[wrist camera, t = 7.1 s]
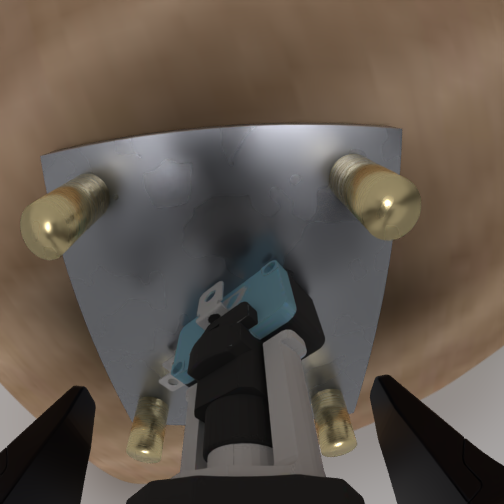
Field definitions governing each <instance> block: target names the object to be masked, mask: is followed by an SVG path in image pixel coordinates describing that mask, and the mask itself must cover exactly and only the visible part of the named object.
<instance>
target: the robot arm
mask: <svg viewBox="0 0 504 504" xmlns="http://www.w3.org/2000/svg"><path fill="white" fill-rule="evenodd" d="M370 400H371V405H372V410H373V415H374V420H375V426H376V431H377V436H378V440H379V444H380V447H381V450H382V454H383V457H384V460H385V463H386V466H387V469H388V473H389V477H390V480H391V483H392V487H393V490H394V493H395V497H396V501H397V504H504V466H503V465H502V464H500V463H498V462H497V461H495V460H494V459H492V458H490V457H489V456H488V455H486V454H485V453H483V452H482V451H481V450H479V449H478V448H477V447H476V446H474V445H473V444H472V443H471V442H469V441H468V440H467V439H464V437H463V436H462V435H461V434H460V433H458V432H457V431H456V430H455V429H454V428H452V427H451V426H450V425H448V423H446V422H445V421H444V420H443V419H442V418H440V417H439V416H438V415H437V414H436V413H434V412H433V411H432V410H431V409H430V408H428V407H427V406H426V405H425V404H424V403H422V402H421V401H420V400H419V399H418V398H416V397H415V396H414V395H413V394H412V393H410V392H409V391H408V390H407V389H406V388H404V387H403V386H402V385H401V384H400V383H398V382H397V381H396V380H395V379H394V378H392V377H391V376H390V375H382V376H377V377H376V378H375V380H374V383H373V386H372V390H371V393H370ZM95 409H96V407H95V402H94V400H93V398H92V397H91V395H90V393H89V392H88V390H87V388H86V387H84V386H73V387H72V388H71V389H69V390H68V391H67V392H66V393H65V394H64V395H63V396H62V397H61V398H59V399H58V400H57V401H56V402H55V403H54V404H53V405H52V406H51V407H50V408H48V409H47V410H46V411H45V412H44V413H43V414H42V415H41V416H40V417H38V418H37V419H36V420H35V421H34V422H33V423H32V424H31V425H30V426H29V427H28V428H26V429H25V430H24V431H23V432H22V433H21V434H20V435H19V436H18V437H17V438H16V439H14V440H13V441H12V442H11V443H10V444H9V445H8V446H7V448H5V449H4V450H2V451H1V452H0V504H80V502H81V497H82V491H83V485H84V480H85V475H86V469H87V464H88V460H89V455H90V450H91V443H92V434H93V425H94V417H95Z"/></svg>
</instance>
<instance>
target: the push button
mask: <svg viewBox="0 0 504 504" xmlns="http://www.w3.org/2000/svg"><path fill="white" fill-rule="evenodd" d="M223 290H224V282H223V281H219V282H218V283H216V284H215V285H214V286H212V287H211V288H210V289H209V290H207V291H206V292H205V293H203V295H202V296H201V297H200V299H199V305H198V311H197V317H196V318H195V319H193V320H192V321H191V322H189V323H188V324H187V325H185V326H184V327H183V329H182V330H181V332H180V335H179V339H178V344H177V349H176V354H175V355H174V356H173V357H171V358H170V359H168V360H167V361H165V362H164V363H163V364H162V365H163V367H164V368H166V369H167V370H168V371H170V373H169V374H167V375H165V376H164V377H162V378H160V379H159V383H160V384H161V385H163V386H164V387H166V388H167V389H169V390H170V391H175V390H177V389H179V388H180V387H182V386H184V385H186V386H188V387H189V388H188V389H187V391H186V401H187V402H188V407H187V415H186V424H185V432H184V441H183V450H182V459H181V469H180V473H178V474H177V475H175V476H174V477H172V478H171V479H165V480H156V481H151V482H149V483H148V484H147V485H145V486H144V487H143V488H142V489H140V490H139V491H138V492H137V493H135V494H134V495H133V496H132V497H130V498H129V499H128V500H127V502H126V504H365V503H364V499H363V497H362V496H361V495H360V494H359V493H357V492H356V491H355V490H354V489H353V488H352V487H351V486H350V485H349V484H348V483H347V482H346V481H344V480H343V479H338V478H329V477H326V475H325V472H324V468H323V464H322V459H321V454H320V450H319V444H318V439H317V434H316V429H315V424H314V419H313V415H312V410H311V405H310V400H309V395H308V391H307V386H306V381H305V377H304V372H303V367H302V363H301V360H303V359H304V358H306V357H308V356H309V355H311V354H313V353H314V352H316V351H317V350H319V349H320V348H321V347H322V346H323V345H324V343H325V335H324V332H323V329H322V326H321V323H320V320H319V317H318V314H317V311H316V309H315V306H314V303H313V300H312V299H311V297H310V296H309V295H308V294H307V293H306V292H305V291H304V290H303V289H302V288H301V286H300V285H299V284H298V283H297V282H296V281H295V280H294V279H293V278H292V277H291V276H290V274H289V273H288V272H287V271H286V270H285V269H284V268H283V267H282V266H281V265H280V264H279V263H278V262H277V261H276V260H273V261H271V262H269V263H268V264H266V265H265V266H264V267H262V268H261V270H260V271H258V272H257V273H256V274H254V275H253V276H252V277H250V278H249V279H248V280H246V281H245V282H244V283H242V284H241V285H240V286H238V287H237V288H236V289H234V290H233V291H231V292H230V293H229V294H227V295H226V296H225V297H223ZM214 292H215V295H214V296H213V297H212V299H211V300H209V301H208V302H206V301H207V299H208V297H209V296H210V295H211V294H212V293H214ZM173 362H174V363H173ZM172 363H173V365H172ZM169 379H176V380H177V381H178V383H177V384H172V383H170V382H169V381H168V380H169Z"/></svg>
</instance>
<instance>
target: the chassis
mask: <svg viewBox="0 0 504 504" xmlns="http://www.w3.org/2000/svg"><path fill="white" fill-rule="evenodd" d="M401 146H402V129H400V128H395V127H391V126H381V125H365V124H344V123H263V124H241V125H225V126H212V127H200V128H190V129H181V130H172V131H163V132H156V133H148V134H141V135H135V136H128V137H122V138H116V139H110V140H105V141H99V142H94V143H89V144H84V145H79V146H74V147H70V148H65V149H61V150H57V151H53V152H50V153H48V154H45V155H42V156H40V157H41V163H42V169H43V175H44V180H45V185H46V190H47V194H46V195H44V196H43V197H41V198H40V199H38V200H36V201H35V202H33V203H31V204H30V205H29V206H27V207H26V208H25V210H24V211H23V213H22V216H21V220H20V229H21V234H22V237H23V240H24V242H25V244H26V245H27V247H28V248H29V249H30V251H31V252H32V253H34V254H35V255H36V256H38V257H40V258H42V259H45V260H55V259H58V258H59V257H61V256H62V255H63V258H64V261H65V265H66V268H67V271H68V274H69V277H70V280H71V283H72V286H73V289H74V292H75V295H76V298H77V301H78V304H79V306H80V309H81V312H82V314H83V317H84V320H85V322H86V325H87V327H88V330H89V332H90V335H91V337H92V340H93V342H94V344H95V347H96V349H97V351H98V354H99V356H100V358H101V360H102V363H103V365H104V367H105V369H106V371H107V373H108V376H109V378H110V380H111V382H112V384H113V386H114V388H115V390H116V392H117V394H118V396H119V398H120V400H121V402H122V404H123V406H124V408H125V409H126V411H127V413H128V415H129V417H130V419H131V421H132V422H133V424H132V428H131V432H130V436H129V441H128V445H127V449H126V452H127V454H128V455H129V456H130V457H132V458H133V459H135V460H138V461H141V462H145V463H157V462H159V461H160V460H161V455H162V449H163V442H164V436H165V430H166V425H185V424H186V415H187V407H188V402H187V401H186V391H187V389H188V388H189V387H188V386H186V385H184V386H182V387H180V388H179V389H177V390H175V391H170V390H169V389H167V388H166V387H164V386H163V385H161V384H160V383H159V379H160V378H162V377H164V376H165V375H167V374H169V373H170V371H168V370H167V369H166V368H164V367H163V365H162V364H163V363H164V362H165V361H167V360H168V359H170V358H171V357H173V356H174V355H175V354H176V349H177V344H178V339H179V335H180V332H181V330H182V329H183V327H184V326H185V325H187V324H188V323H189V322H191V321H192V320H193V319H195V318H196V317H197V311H198V305H199V299H200V297H201V296H202V295H203V293H205V292H206V291H207V290H209V289H210V288H211V287H212V286H214V285H215V284H216V283H218V282H219V281H223V282H224V290H223V297H225V296H226V295H227V294H229V293H230V292H231V291H233V290H234V289H236V288H237V287H238V286H240V285H241V284H242V283H244V282H245V281H246V280H248V279H249V278H250V277H252V276H253V275H254V274H256V273H257V272H258V271H260V270H261V268H262V267H264V266H265V265H266V264H268V263H269V262H271V261H273V260H276V261H277V262H278V263H279V264H280V265H281V266H282V267H283V268H284V269H285V270H286V271H287V272H288V273H289V274H290V276H291V277H292V278H293V279H294V280H295V281H296V282H297V283H298V284H299V285H300V286H301V288H302V289H303V290H304V291H305V292H306V293H307V294H308V295H309V296H310V297H311V299H312V300H313V303H314V306H315V309H316V311H317V314H318V317H319V320H320V323H321V326H322V329H323V332H324V335H325V343H324V345H323V346H322V347H321V348H320V349H319V350H317V351H316V352H314V353H313V354H311V355H309V356H308V357H306V358H304V359H303V360H301V363H302V367H303V372H304V377H305V381H306V386H307V391H308V395H309V400H310V405H311V410H312V415H313V419H315V424H316V429H317V433H318V438H319V443H320V448H321V453H322V455H324V456H327V457H335V456H341V455H344V454H346V453H349V452H350V451H352V450H353V449H354V448H355V447H356V446H357V442H356V438H355V435H354V431H353V428H352V424H351V421H350V418H349V414H350V413H354V410H355V407H356V404H357V400H358V397H359V394H360V390H361V387H362V383H363V380H364V376H365V373H366V369H367V365H368V361H369V358H370V354H371V350H372V346H373V341H374V337H375V333H376V329H377V324H378V320H379V315H380V310H381V305H382V300H383V295H384V290H385V285H386V279H387V273H388V268H389V261H390V255H391V248H392V242H393V240H395V239H398V238H401V237H402V236H404V235H406V234H407V233H408V232H409V231H410V230H411V229H412V228H413V227H414V225H415V224H416V222H417V220H418V218H419V215H420V211H421V198H420V194H419V192H418V189H417V188H416V186H415V185H414V184H413V183H412V182H411V181H409V180H408V179H406V178H404V177H402V176H400V164H401ZM214 295H215V292H214V293H212V294H211V295H210V296H209V297H208V299H207V301H206V302H208V301H209V300H211V299H212V297H213V296H214ZM173 363H174V362H173ZM173 363H172V365H173ZM168 381H169V382H170V383H172V384H177V383H178V381H177V380H176V379H169V380H168Z"/></svg>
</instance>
